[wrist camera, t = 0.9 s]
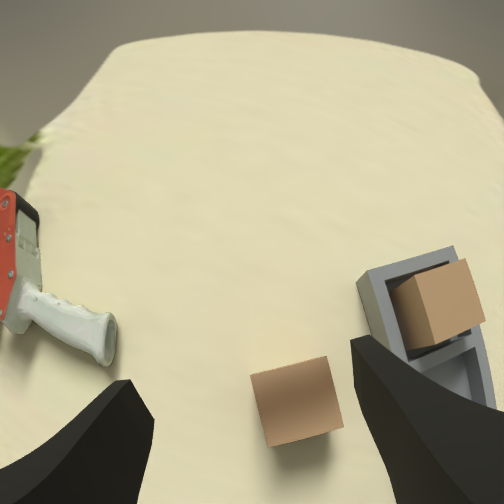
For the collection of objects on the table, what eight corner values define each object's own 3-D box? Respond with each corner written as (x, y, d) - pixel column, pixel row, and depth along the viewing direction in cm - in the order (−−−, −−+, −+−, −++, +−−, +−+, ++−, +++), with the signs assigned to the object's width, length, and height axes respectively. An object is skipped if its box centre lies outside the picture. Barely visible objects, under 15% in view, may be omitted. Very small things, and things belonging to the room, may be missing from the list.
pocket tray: (483, 481, 17) (522, 495, 11) (409, 523, 16) (440, 551, 11) (436, 258, 24) (472, 229, 19) (356, 282, 24) (381, 255, 18)
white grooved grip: (140, 357, 24) (79, 172, 30) (117, 356, 19) (58, 144, 25) (3, 412, 21) (-32, 243, 27) (-31, 416, 16) (-60, 227, 22)
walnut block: (327, 415, 21) (343, 426, 16) (267, 431, 20) (267, 447, 16) (313, 358, 22) (326, 355, 18) (253, 373, 22) (250, 375, 17)
